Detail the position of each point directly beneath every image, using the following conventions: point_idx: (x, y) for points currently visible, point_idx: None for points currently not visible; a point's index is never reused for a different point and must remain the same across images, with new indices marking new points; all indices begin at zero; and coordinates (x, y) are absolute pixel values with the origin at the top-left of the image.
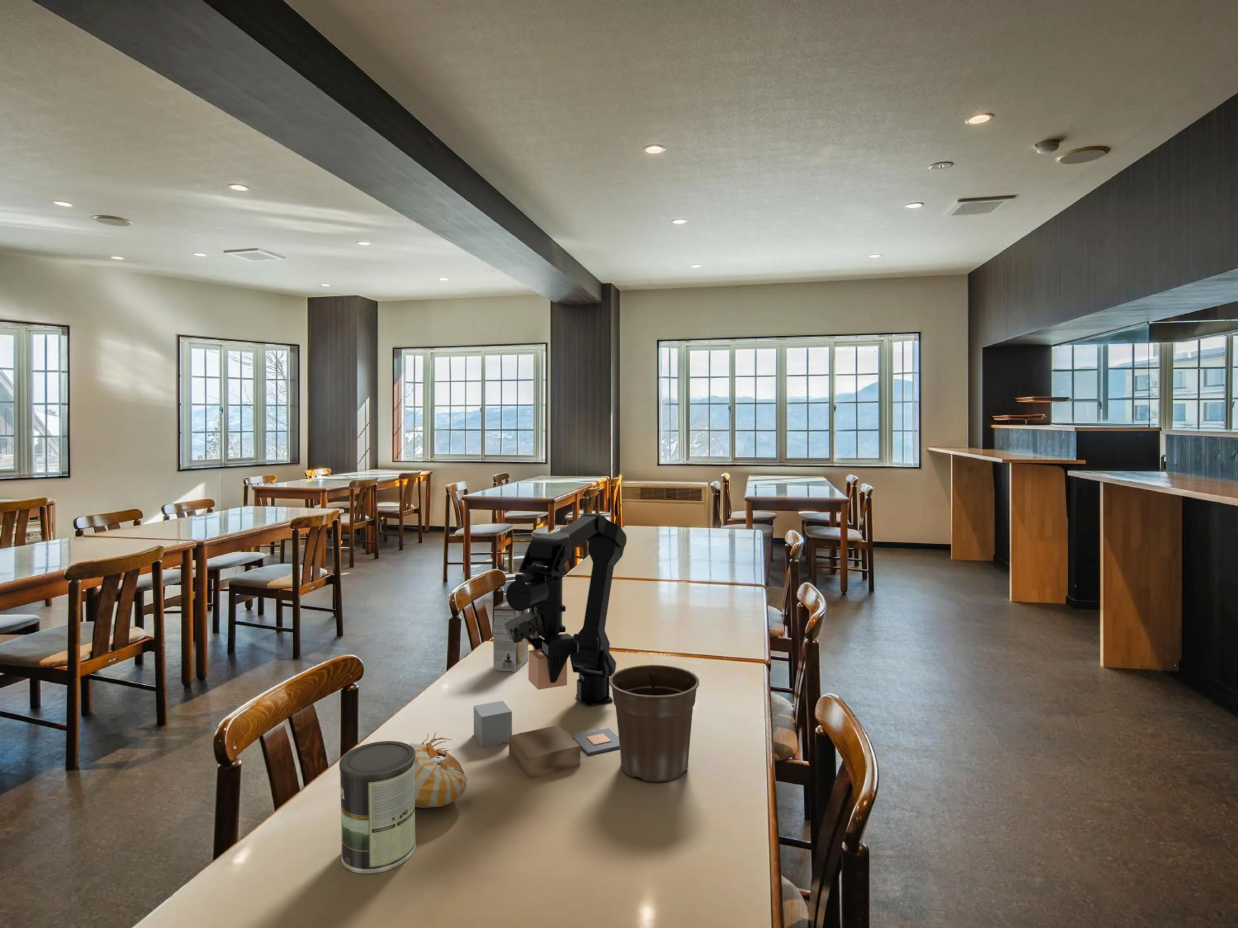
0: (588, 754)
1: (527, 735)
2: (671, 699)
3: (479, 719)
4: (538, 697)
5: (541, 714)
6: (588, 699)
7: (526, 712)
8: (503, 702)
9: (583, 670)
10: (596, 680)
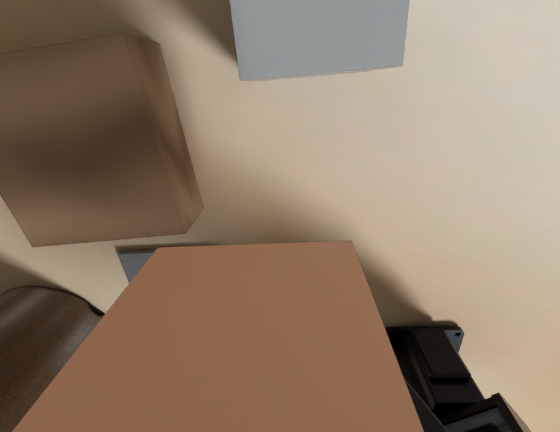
0: (121, 252)
1: (116, 113)
2: None
3: None
4: (532, 246)
5: (405, 220)
6: (402, 343)
7: (448, 183)
8: (375, 63)
9: (470, 419)
10: None
